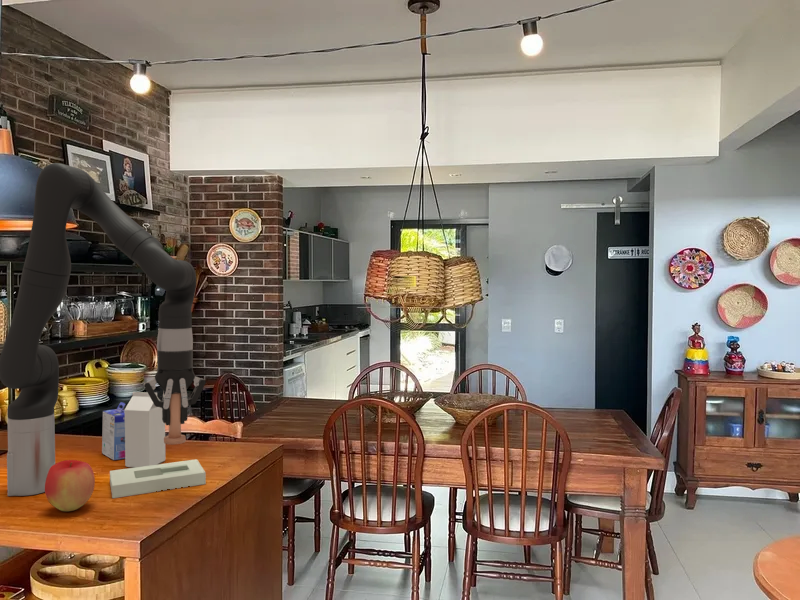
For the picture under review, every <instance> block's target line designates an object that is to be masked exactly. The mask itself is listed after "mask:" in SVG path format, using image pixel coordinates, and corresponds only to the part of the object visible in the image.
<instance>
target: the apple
mask: <svg viewBox="0 0 800 600" xmlns="http://www.w3.org/2000/svg"><path fill="white" fill-rule="evenodd" d="M95 479H96V478H95V473H94V470H93V468H92V466H91V465H90V464H89V463H87V462H86V461H81V460H76V459H67V460H61V461H58V462H55V464H54V465H53V466H51V468H50V469H49V471H48V474H47V478H46V482H45V492H44V493H45V497H46V499H47V502H48V503H50V504H51V505H52V506H53V507H54V508H56V509H57V510H58V511H61V512H73V511H76V510H78V509H80V508H81V507H83V506H84V505H86V503H87V502H88V501H89V500H90V498H91V496H92V495H93V492H94V490H95V484H96V483H95V482H96V481H95Z"/></svg>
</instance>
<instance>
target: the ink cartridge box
mask: <svg viewBox="0 0 800 600" xmlns="http://www.w3.org/2000/svg"><path fill="white" fill-rule="evenodd" d="M126 404H127V403H125V402H122V401H120V403H119V404H118V406H117V408H116V409H107V410H102V434H101V435H102V436H101V441H102V442H101V454H103V455H105V456H106V457H107V458H110V459H111V460H112V461H117V460H118V461H119V460H123V459H124V460H125V408H126V406H127V405H126Z"/></svg>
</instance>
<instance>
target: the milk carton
mask: <svg viewBox="0 0 800 600" xmlns="http://www.w3.org/2000/svg"><path fill="white" fill-rule="evenodd" d="M154 393H155V394H156V396H157V398H158V400H159V401H161V399H160V398H159V397H158V392H154ZM124 410H125V459H124V462H125V463H124V464H125V467H128V468H135V467H143V466H150V465H158V464H162V463H163V462H165V461H166V444H165V443H164V437H165V436H166V424H165V423H164V422H163V420H162V408H160V407H156V406H155V405H154V403H153V401H152V400H151V398H150V396H149V394H148V392H147V391H146V392H145V391H144V392H143V391H133V392H132V396H131V398H130V400H129V402H128V403H127V405H125V407H124Z"/></svg>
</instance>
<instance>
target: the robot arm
mask: <svg viewBox="0 0 800 600" xmlns="http://www.w3.org/2000/svg"><path fill="white" fill-rule="evenodd" d="M34 193H35V195H34V204H33V205H34V207H33V215H32V225H31V230H30V235H29V241H28V246H27V251H26V255H25V260H24V263H23V267H22V272H21V276H20V277H21V278H20V282H19V289H18V293H17V296H16V298H17V299H16V301H15V306H14V310H13V314H12V319H11V323H10V326H9V329H8V331H7V336H6V337H5V341H4V344H3V346H2V350H1V352H0V382H1V383H2V385H4V386H5V387H6V388H9V389H12V390H19V389H20V393H19V394H18V395H17V397H16V398H15V399H14V400H13V401H11V402H10V404H8V406H7V411H6V412H7V416H6V417H7V454H6V476H7V477H6V480H7V483H6V485H7V486H6V487H7V497H13V496H15V497H16V496H17V497H18V496H19V497H21V496H33V495H34V496H35V495H38V494H43V493H45V482H46V478H47V474H48V471H49V469H50V468H51V466H53V465H54V464H56V434H55V427H56V426H55V425H56V424H55V407H56V404H57V402H58V398H59V386H60V385H59V382H60V365H59V359H58V356H57V354H56V352H55V351H54V349H52V347H50V346H47V345H45V344H40V342H41V337H42V333H43V331H44V330H45V329H44V328H45V326H46V325H47V323H48V322H49V321H50V319H51V318H52V316H53V315H54V313H55V312H56V311H57V309H58V308H59V306H60V305H61V304H62V302H63V301H64V299H65V296H66V293H67V292H68V291H67V290H68V286H69V281H70V277H71V271H72V261H71V254H70V250H69V247H68V246H69V245H68V241H67V233H66V231H67V222H68V218H69V213H70V210H71V209H76V211H79V212H81V213H82V214H83V215H85V216H87V217H88V218H90V219H91V220H93V222H94V223H95V222H96V224H97V225H98V226H99V227H100V228H101V229H102V230H103V231H104V233H105V235H106V236H107V237H108V239H109V240H110V241H111V243H113V245H114V246H115V247H116V249H118V250H119V251H120V252H122V253H123V254H124V255H125V256H127V257H128V258H129V259H130V260H131V261H133V262H134V264H137V265H138V266H139V267H140V269H141V270H142V271H143V274H145V275H146V276H147V277H148V279H150V281H152V283H153V284H155V285H156V286H157V287H159V288H160V289H161V290H164V291H165V297H164V301H163V302H162V303H161V304H160V305H159V308H158V331H157V333H158V334H157V337H156V338H157V340H156V341H157V342H156V349H157V352H156V355H157V357H156V359H157V360H156V364H157V365H156V366H157V369H156V374H155V376H154V378H153V379H149V381H144V382H143V387H144V388H145V390H146V392H148V394H149V396H150V398H151V400H152V401H153V403H154V405H155V406H156V407H160V408H162V420H163V422H164V423H165V426H169V425H170V409H169V403H170V398H171V393H175V392H177V393H181V425H184V424H185V422H187V421H188V418H189V417H188V411H189V410H188V408H189V406H192V405H195V404H196V403H197V402H198V401H199V397H200V395H201V393H202V392H203V389H204V387H205V386H206V380H205V378H202V377H201V378H200V377H198V376H196V375H195V373H194V369H193V368H194V366H193V365H194V363H193V360H194V358H193V357H194V352H193V350H194V349H193V347H194V345H193V343H194V338H193V337H194V336H193V328H192V327H193V326H192V324H193V322H192V318H193V317H192V316H193V315H192V310H193V309H192V308H193V304H194V300H195V294H196V288H197V272H196V270H195V268H194V266H193V265H192V264H191V263H190V262H188V261H186V260H183V259H182V260H181V259H175V258H174V257H173V256H171V255H170V254H169V253H168V252H166V251H165V250H164V247H163V245H162V243H161V242H160V241H159V240H158V239H157V238H156V237H154V236H153V235H152V234H151V233H149V232H148V231H147V229H145V228H144V227H142V226H141V225H140V224H138V222H136V221H135V220H134V219H133V218H131V217H130V216H129V215H128V214H127V213H126V212H125V211H124V210H122V209H121V208H120V207H119V205H117V204H116V203H115V202H114V201H113V200H112V199H111V198H110V197H109V195H107V193H106V192H105V191H104V190H103V189H102V188H101V186H100V184H98V183H97V182H96V181H95V180H94V179H93V177H92V176H91V175H90V174H89V173H88V172H87V171H85V170H83V169H81V168H78V167H75V166H72V165H67V164H64V163H59V162H58V163H57V162H53V163H50V164H47V165H46V166H44V168H43V169H42V170H41V171H40V173H39V174H38V178H37V181H36V187H35V192H34ZM192 383H193V385H194V388H193V390H192V392H191V394H190V396H189V398H188V392H187V389H188V388H189V387H190V386H191V384H192ZM156 384H157V385H158V386H159V387H160V388H161V389H162V391H163V394H162V400H160V401H159V400H158V398H159V397H158V395H157V396H156V394H155V393H156V392H155V391H154V390H155V389H156V388H157V387H156ZM157 397H158V398H157Z"/></svg>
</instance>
